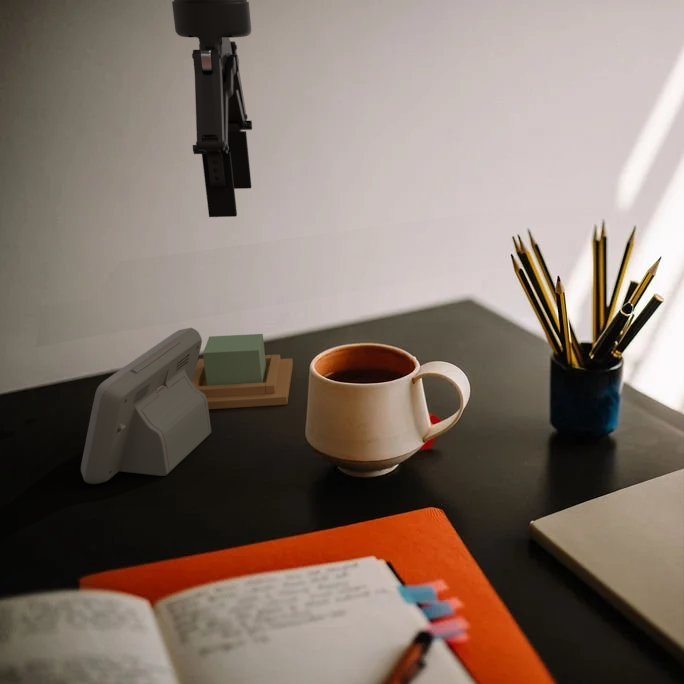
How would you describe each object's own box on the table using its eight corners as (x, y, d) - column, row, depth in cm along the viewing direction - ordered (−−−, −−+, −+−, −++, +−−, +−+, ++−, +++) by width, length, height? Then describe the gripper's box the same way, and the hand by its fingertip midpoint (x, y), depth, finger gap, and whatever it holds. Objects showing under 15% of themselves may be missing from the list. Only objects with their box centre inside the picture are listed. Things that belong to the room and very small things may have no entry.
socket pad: (174, 411, 98) (171, 395, 97) (190, 371, 108) (188, 355, 108) (287, 404, 100) (285, 388, 99) (293, 365, 110) (291, 350, 109)
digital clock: (175, 410, 99) (162, 318, 95) (243, 425, 95) (233, 331, 91) (55, 481, 85) (33, 377, 81) (130, 501, 81) (112, 394, 77)
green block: (207, 389, 101) (202, 352, 99) (213, 372, 106) (209, 336, 104) (262, 386, 102) (258, 349, 100) (266, 369, 107) (262, 333, 105)
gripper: (232, -2, 81) (254, 228, 89) (260, -6, 104) (276, 177, 112) (144, -3, 80) (175, 231, 88) (192, -7, 103) (213, 178, 111)
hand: (231, 201), depth 100 cm, fingers open, 13 cm apart
